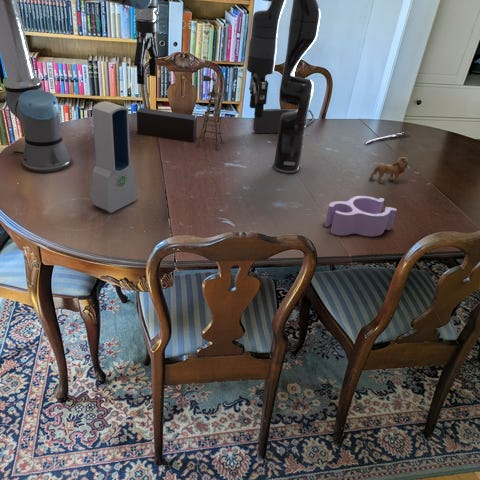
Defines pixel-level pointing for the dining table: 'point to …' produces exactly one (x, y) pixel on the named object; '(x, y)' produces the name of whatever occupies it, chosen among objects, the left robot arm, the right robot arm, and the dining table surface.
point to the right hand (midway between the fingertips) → (255, 112)
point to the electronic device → (112, 158)
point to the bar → (166, 124)
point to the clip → (359, 216)
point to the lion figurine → (391, 169)
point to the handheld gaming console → (269, 120)
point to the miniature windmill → (212, 94)
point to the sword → (384, 137)
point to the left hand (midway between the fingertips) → (147, 79)
